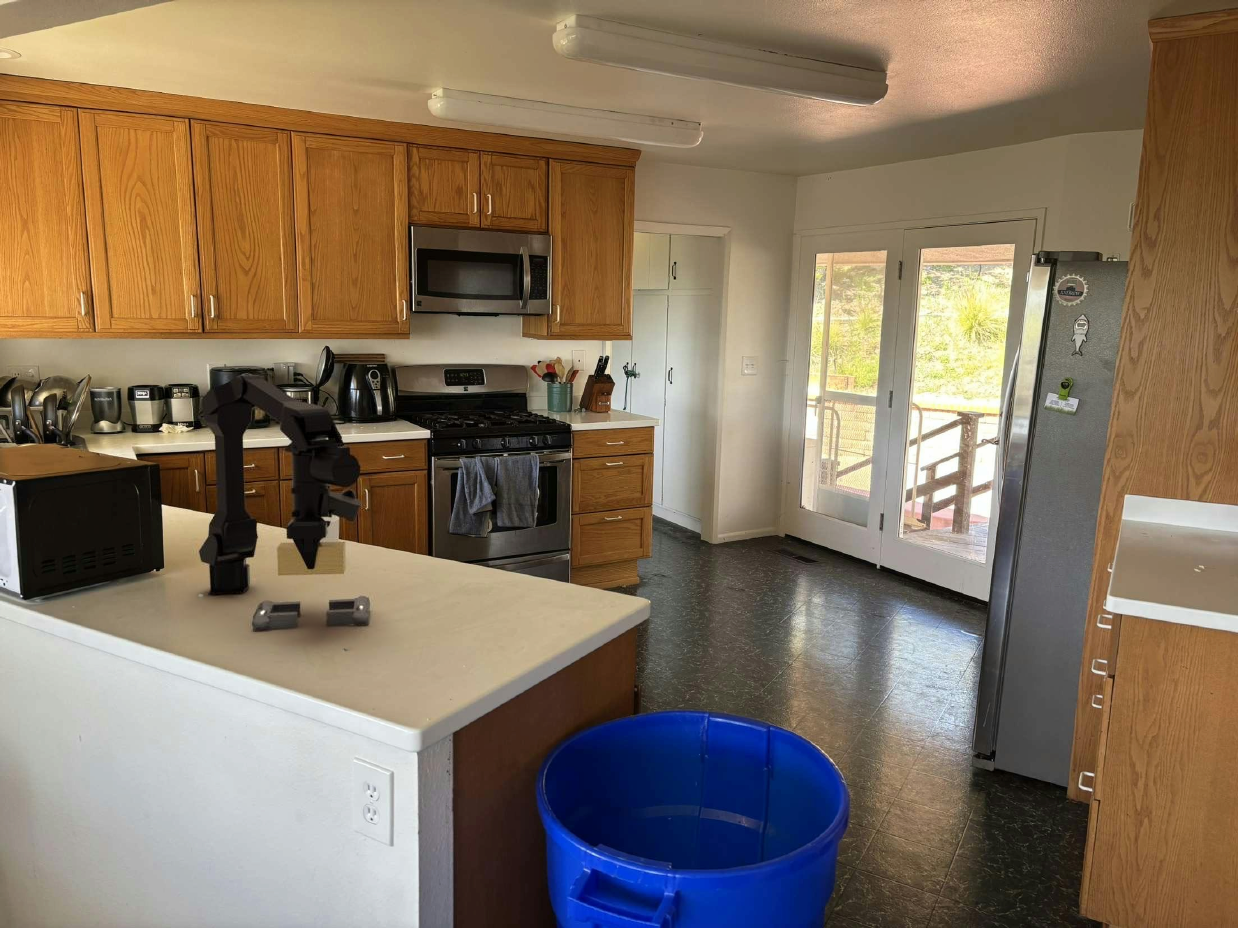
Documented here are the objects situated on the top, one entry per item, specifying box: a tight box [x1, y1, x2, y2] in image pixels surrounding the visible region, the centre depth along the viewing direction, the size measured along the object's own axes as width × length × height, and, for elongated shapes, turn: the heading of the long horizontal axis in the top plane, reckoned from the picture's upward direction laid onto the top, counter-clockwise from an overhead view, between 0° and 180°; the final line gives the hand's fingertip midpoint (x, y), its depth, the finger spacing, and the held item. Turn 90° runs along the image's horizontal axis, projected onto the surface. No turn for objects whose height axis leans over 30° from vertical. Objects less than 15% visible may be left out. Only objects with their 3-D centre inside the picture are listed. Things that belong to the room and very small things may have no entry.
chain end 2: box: [326, 595, 371, 627], centre depth 157 cm, size 7×8×3 cm
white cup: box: [320, 515, 340, 542], centre depth 191 cm, size 8×8×10 cm
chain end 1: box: [251, 599, 302, 632], centre depth 154 cm, size 7×8×3 cm
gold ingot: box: [276, 541, 347, 576], centre depth 154 cm, size 11×3×5 cm, turn 102°
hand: (311, 565), depth 154 cm, fingers closed on gold ingot, 3 cm apart
